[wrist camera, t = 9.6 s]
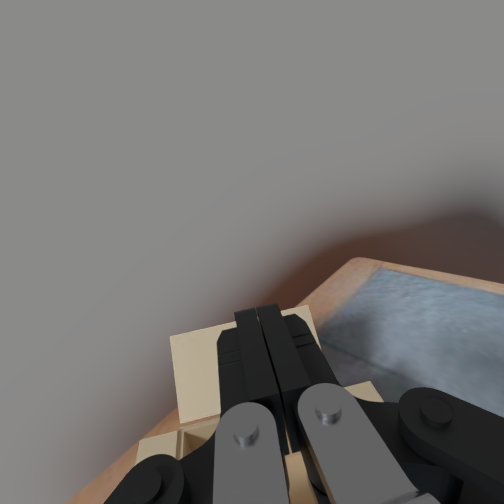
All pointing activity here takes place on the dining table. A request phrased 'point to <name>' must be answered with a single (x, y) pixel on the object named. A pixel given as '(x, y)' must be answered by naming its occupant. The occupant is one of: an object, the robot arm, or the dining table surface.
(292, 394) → the robot arm
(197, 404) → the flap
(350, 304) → the dining table surface
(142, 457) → the carton
